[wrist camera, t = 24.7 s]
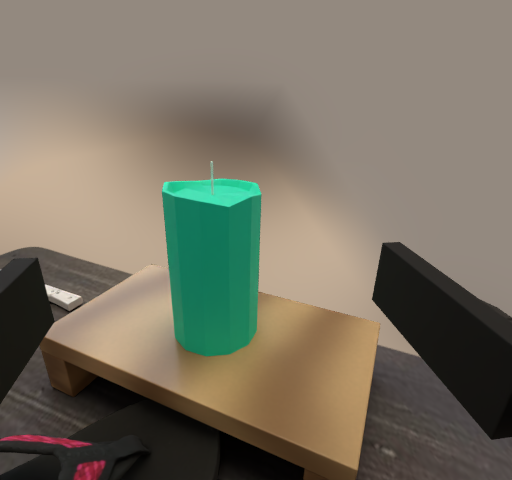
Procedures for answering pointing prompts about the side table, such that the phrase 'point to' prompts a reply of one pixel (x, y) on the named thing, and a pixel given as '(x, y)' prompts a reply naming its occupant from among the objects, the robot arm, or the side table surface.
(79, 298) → the white plastic blade
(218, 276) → the candle
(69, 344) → the oak shelf
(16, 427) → the side table surface
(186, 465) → the sandal
